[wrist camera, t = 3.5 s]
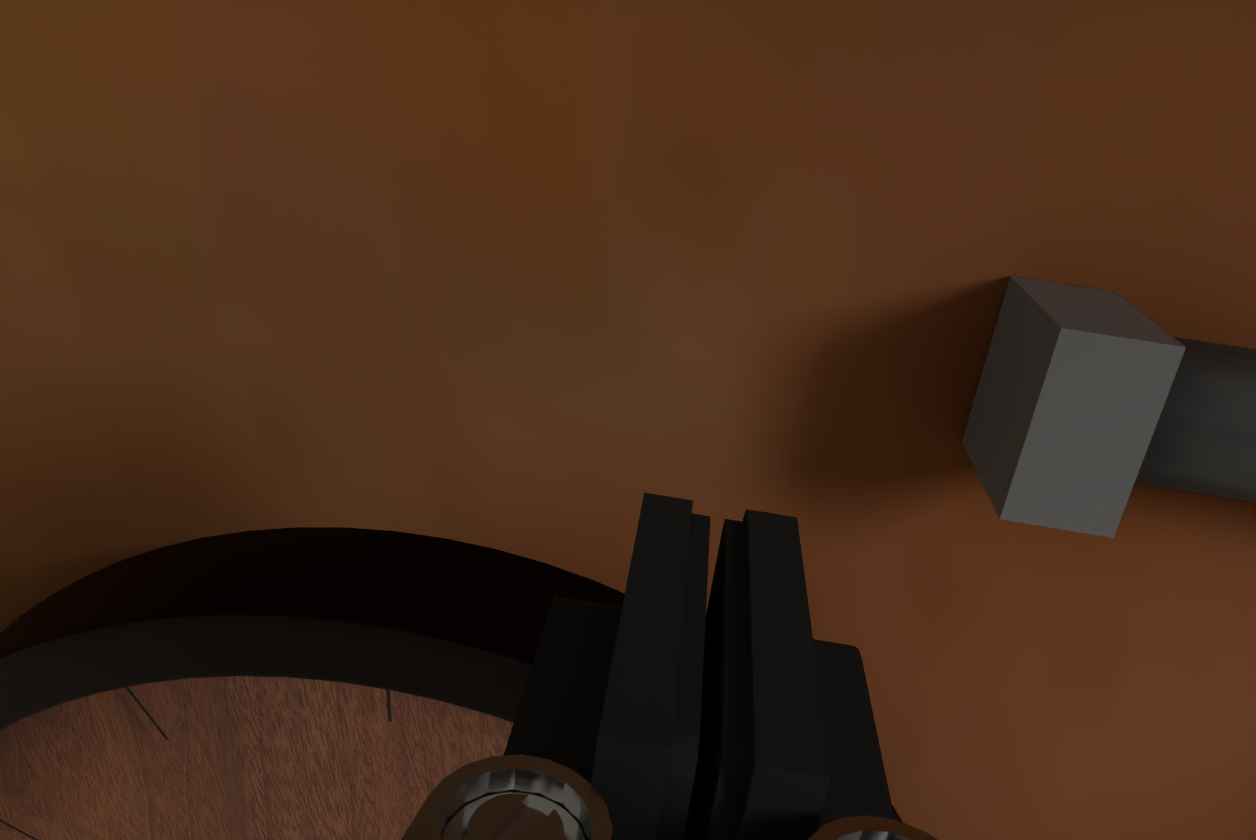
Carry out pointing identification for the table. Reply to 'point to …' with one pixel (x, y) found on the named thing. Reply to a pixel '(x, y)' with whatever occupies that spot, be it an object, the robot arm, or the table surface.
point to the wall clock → (267, 685)
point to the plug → (1104, 410)
